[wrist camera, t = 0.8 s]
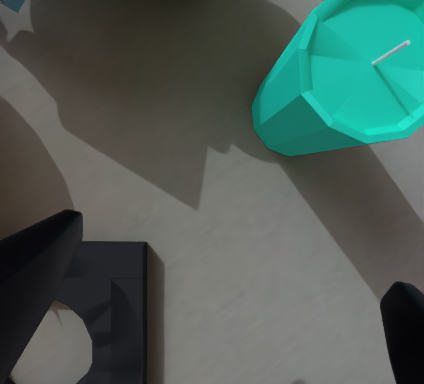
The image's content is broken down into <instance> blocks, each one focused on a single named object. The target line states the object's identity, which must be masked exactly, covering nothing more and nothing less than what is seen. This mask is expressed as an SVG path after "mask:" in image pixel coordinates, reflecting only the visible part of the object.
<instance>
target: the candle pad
mask: <svg viewBox="0 0 424 384" xmlns="http://www.w3.org/2000/svg"><path fill="white" fill-rule="evenodd" d="M54 300H56V301H59V302H61V303H64V304H66V305H68V306H69V307H70V308H71V309H72V310H73V311H74V312H75V313H76V314H77V315H78V316H79V317H80V318H82V319H83V321H84V323H85V326H86V328H87V330H88V332H89V335H90V337H91V339H92V364H91V367H90V369H89V371H88V373H87V374H86V375H85V376H84V377H83V378H82V379H80V380H79V381H78V382H77V383H76V384H146V360H147V242H111V241H81V244H80V246H79V248H78V250H77V253H76V255H75V257H74V259H73V262H72V264H71V266H70V268H69V270H68V273H67V275H66V277H65V279H64V281H63V284H62V286H61V288H60V290H59V292H58V294H57V295H56V297H55V299H54ZM4 384H15V383H13V382H12V381H11V380H10V379H9V378H7V379H6V381H5V383H4Z"/></svg>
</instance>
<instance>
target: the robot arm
mask: <svg viewBox="0 0 424 384" xmlns="http://www.w3.org/2000/svg"><path fill="white" fill-rule="evenodd" d="M82 237H83V216H82V213H81V212H78V211H74V210H69V209H66V210H63V211H61V212H59V213H57V214H55V215H53V216H51V217H49V218H47V219H44V220H42V221H40V222H38V223H36V224H34V225H32V226H30V227H28V228H26V229H24V230H22V231H19V232H17V233H15V234H13V235H11V236H9V237H7V238H5V239H3V240H1V241H0V384H4V383H5V381H6V379H7V378H8V376H9V374H10V373H11V371H12V369H13V368H14V366H15V364H16V363H17V361H18V359H19V358H20V356H21V354H22V353H23V351H24V349H25V348H26V346H27V344H28V343H29V341H30V339H31V338H32V336H33V334H34V332H35V331H36V329H37V327H38V326H39V324H40V322H41V321H42V319H43V317H44V316H45V314H46V312H47V311H48V309H49V307H50V306H51V304H52V302H53V301H54V299H55V297H56V295H57V294H58V292H59V290H60V288H61V286H62V284H63V281H64V279H65V277H66V275H67V273H68V270H69V268H70V266H71V264H72V262H73V259H74V257H75V255H76V253H77V250H78V248H79V246H80V244H81V241H82ZM380 310H381V315H382V321H383V326H384V332H385V338H386V343H387V349H388V354H389V359H390V363H391V366H392V370H393V374H394V377H395V381H396V384H424V294H423V293H422V292H420V291H419V290H418V289H417V288H416V287H415V286H413V285H412V284H409V283H404V282H395V283H394V284H393V285H392V286H391V287H390V289H389V290H388V291H387V292H386V294H385V295H384V296H383V298H382V299H381V302H380Z"/></svg>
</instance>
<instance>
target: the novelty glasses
mask: <svg viewBox="0 0 424 384" xmlns="http://www.w3.org/2000/svg"><path fill="white" fill-rule="evenodd" d="M24 1H25V0H0V3H2V4H4V5H5V6H7V7H9V8H10V9H12V10H14V11H15V12H17V13H18V11H19V10H20V8H21V6H22V5H23V3H24Z"/></svg>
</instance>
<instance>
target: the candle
mask: <svg viewBox="0 0 424 384" xmlns="http://www.w3.org/2000/svg"><path fill="white" fill-rule="evenodd" d="M251 110H252V118H253V125H254V130H255V132H256V133H257V134H258V136H259V137H260V138H261V140H262V141H263V142H264V144H265V145H266V146H267V148H269V149H271V150H274V151H276V152H279V153H281V154H283V155H286V156H288V157H289V156H296V155H303V154H310V153H317V152H323V151H329V150H335V149H341V148H348V147H354V146H360V145H366V144H372V143H379V142H385V141H391V140H397V139H404V138H407V137H409V136H410V135H411V134H412V133H414V132H415V131H416V130H417V129H418V128H420V127H421V126H422V125H423V124H424V0H324V1H323V2H322V3H321V4H320V5H318V6H317V7H316V8H315V9H314V10H313V11H312V12H311V13H310V14H309V16H308V17H307V19H306V20H305V22H304V23H303V24H302V26H301V27H300V29H299V30H298V32H297V33H296V35H295V36H294V37H293V39H292V40H291V42H290V43H289V45H288V46H287V47H286V49H285V50H284V52H283V53H282V55H281V56H280V57H279V59H278V60H277V62H276V63H275V65H274V66H273V67H272V69H271V70H270V72H269V73H268V75H267V76H266V78H265V79H264V80H263V82H262V83H261V85H260V87H259V89H258V91H257V94H256V96H255V99H254V101H253V104H252V106H251Z"/></svg>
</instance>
